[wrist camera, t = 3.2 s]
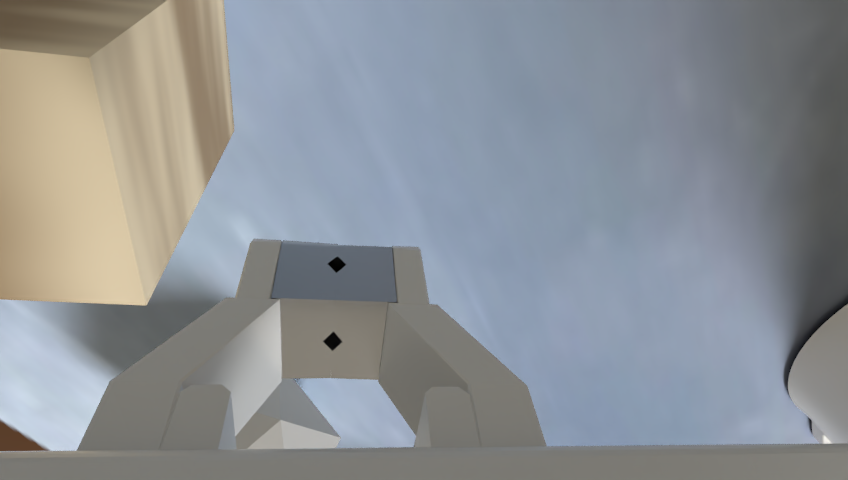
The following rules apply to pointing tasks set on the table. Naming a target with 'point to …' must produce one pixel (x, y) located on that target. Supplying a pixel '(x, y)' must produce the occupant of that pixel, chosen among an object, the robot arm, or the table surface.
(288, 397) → the die
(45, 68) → the maple block
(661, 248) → the table surface
